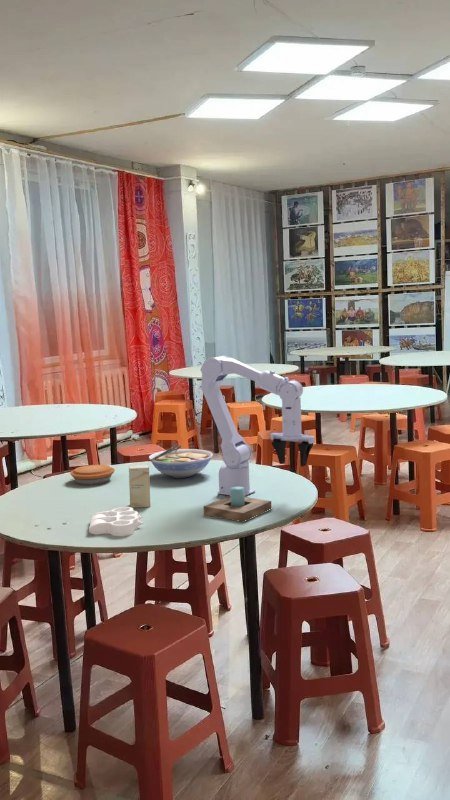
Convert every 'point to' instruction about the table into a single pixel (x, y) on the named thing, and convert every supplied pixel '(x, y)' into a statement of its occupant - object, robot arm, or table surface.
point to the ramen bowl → (180, 461)
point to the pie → (92, 474)
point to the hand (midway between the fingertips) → (292, 464)
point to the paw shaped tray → (115, 522)
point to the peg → (237, 496)
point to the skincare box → (139, 486)
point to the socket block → (237, 508)
